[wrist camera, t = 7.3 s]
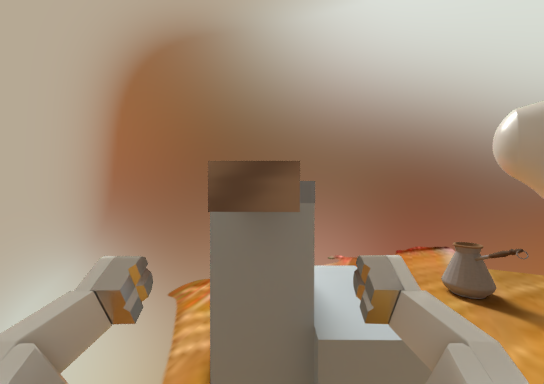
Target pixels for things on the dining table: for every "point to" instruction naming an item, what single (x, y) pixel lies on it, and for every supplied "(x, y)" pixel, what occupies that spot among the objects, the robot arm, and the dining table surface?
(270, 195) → the brown bar
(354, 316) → the step box
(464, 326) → the robot arm
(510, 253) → the coffee pot
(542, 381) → the dining table surface
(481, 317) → the dining table surface
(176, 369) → the dining table surface
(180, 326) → the dining table surface
